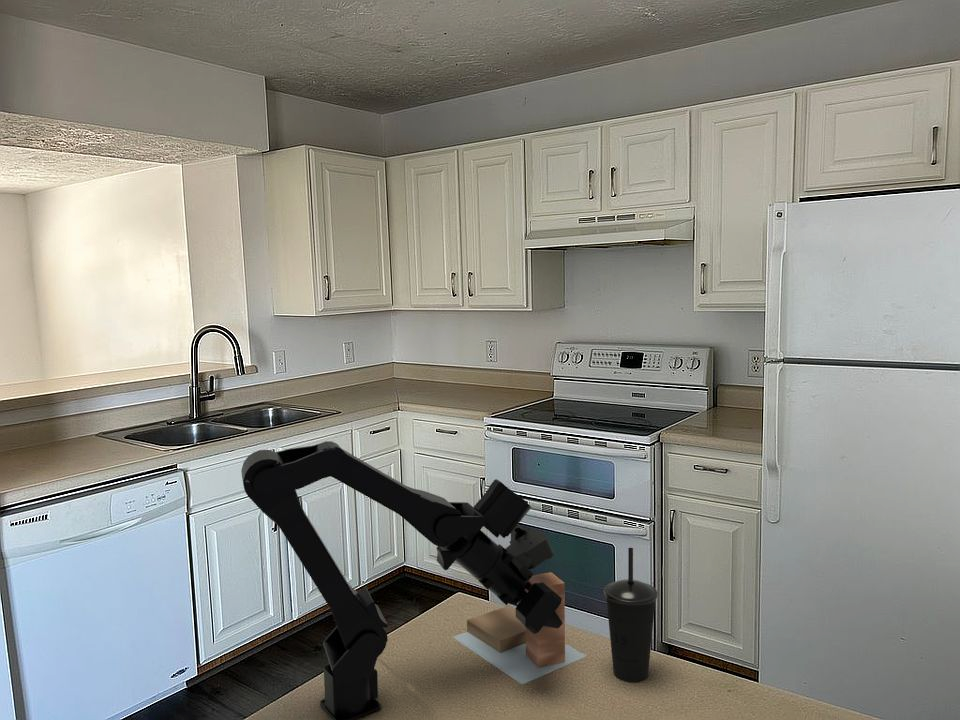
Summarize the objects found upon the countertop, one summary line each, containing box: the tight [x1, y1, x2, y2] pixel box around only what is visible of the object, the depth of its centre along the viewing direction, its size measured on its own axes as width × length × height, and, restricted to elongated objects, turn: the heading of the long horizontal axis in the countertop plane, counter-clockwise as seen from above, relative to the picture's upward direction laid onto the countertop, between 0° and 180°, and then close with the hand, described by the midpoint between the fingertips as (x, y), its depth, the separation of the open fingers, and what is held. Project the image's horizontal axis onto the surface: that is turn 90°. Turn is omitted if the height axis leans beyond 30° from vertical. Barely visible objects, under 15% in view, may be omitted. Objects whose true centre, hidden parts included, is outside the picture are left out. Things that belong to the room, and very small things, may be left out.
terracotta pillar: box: [525, 571, 566, 668], centre depth 110 cm, size 4×4×12 cm
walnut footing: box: [466, 604, 526, 653], centre depth 119 cm, size 9×9×2 cm
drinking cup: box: [603, 547, 659, 684], centre depth 105 cm, size 8×8×20 cm
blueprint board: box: [452, 631, 588, 685], centre depth 115 cm, size 13×18×1 cm
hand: (552, 618), depth 111 cm, fingers closed on terracotta pillar, 4 cm apart
